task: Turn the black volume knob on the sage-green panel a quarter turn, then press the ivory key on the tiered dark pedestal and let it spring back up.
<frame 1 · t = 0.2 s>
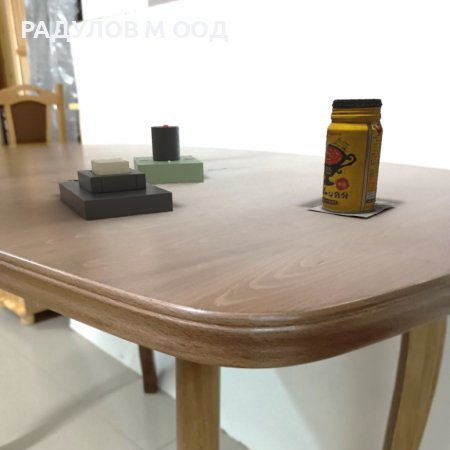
volume knob: (165, 142, 78), point 6 cm above the table, hinge at 0.0°
condiment: (351, 210, 58), on the table
white key: (110, 168, 58), point 4 cm above the table, slide at 0.1 cm
tiered dark pedestal: (113, 205, 60), on the table
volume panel: (167, 178, 80), on the table
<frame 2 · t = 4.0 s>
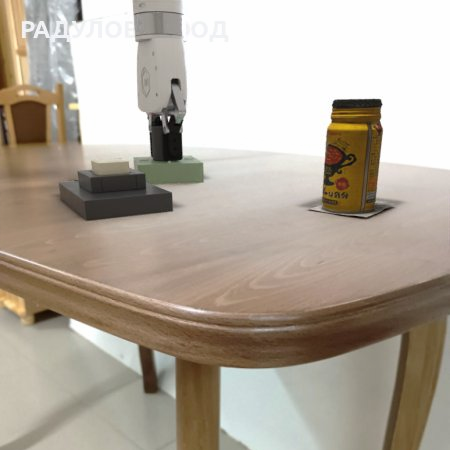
hand: (166, 157, 79), 3 cm above the table, tool pointing down, fingers closed on volume knob, 4 cm apart
volume knob: (165, 142, 78), point 6 cm above the table, hinge at 0.0°, touching gripper
everything else where it was.
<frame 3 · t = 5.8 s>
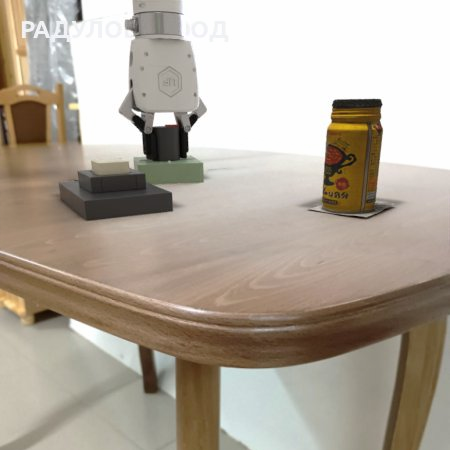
hand: (166, 157, 79), 3 cm above the table, tool pointing down, fingers closed on volume knob, 4 cm apart
volume knob: (165, 142, 78), point 6 cm above the table, hinge at 90.4°, touching gripper
everything else where it was.
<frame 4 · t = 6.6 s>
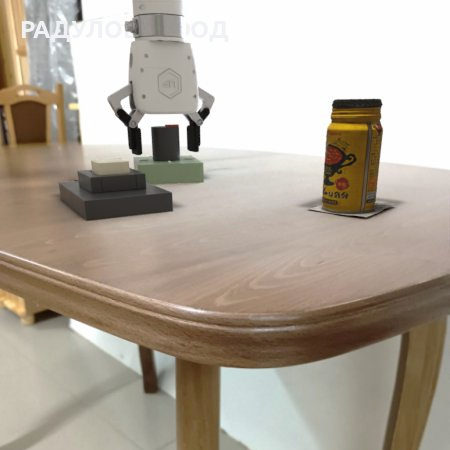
hand: (165, 152, 78), 4 cm above the table, tool pointing down, fingers open, 9 cm apart
volume knob: (165, 142, 78), point 6 cm above the table, hinge at 90.4°
everything else where it was.
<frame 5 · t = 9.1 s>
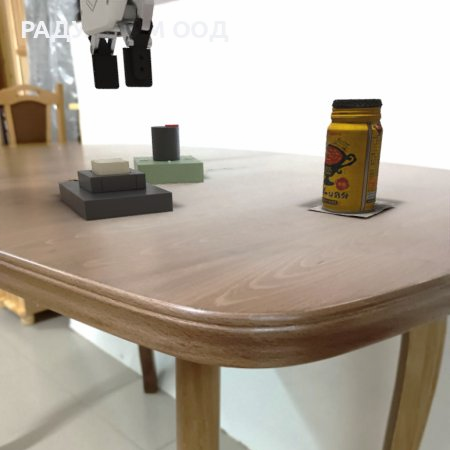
hand: (122, 88, 60), 13 cm above the table, tool pointing down, fingers open, 9 cm apart
nothing on the table moved.
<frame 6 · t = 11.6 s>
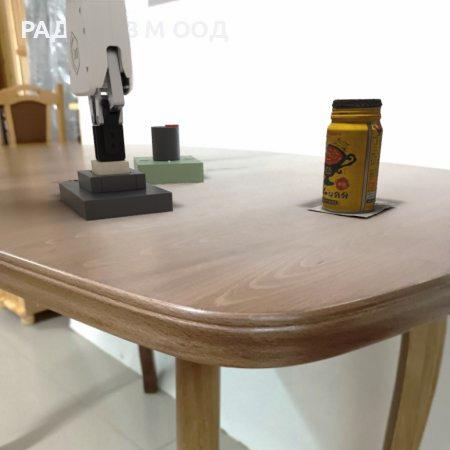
hand: (110, 160, 58), 5 cm above the table, tool pointing down, fingers closed
white key: (110, 168, 58), point 4 cm above the table, slide at 0.0 cm, touching gripper
everything else where it was.
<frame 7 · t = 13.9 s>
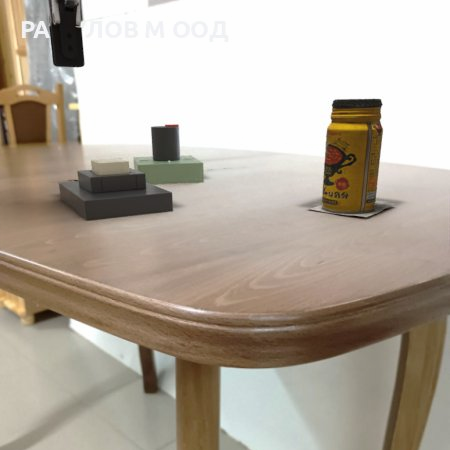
hand: (69, 66, 56), 16 cm above the table, tool pointing down, fingers closed
white key: (110, 168, 58), point 4 cm above the table, slide at 0.1 cm
everything else where it was.
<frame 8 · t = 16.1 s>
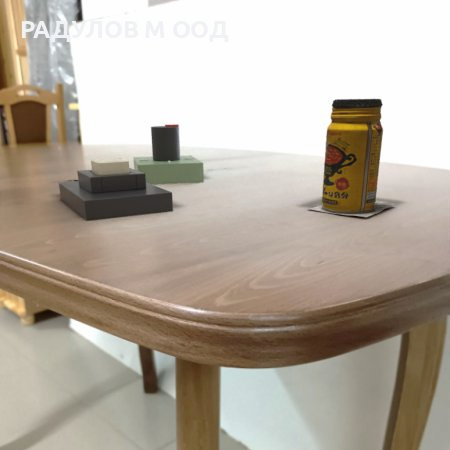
nothing on the table moved.
at the end: volume knob at +90° (first picture: +0°); white key pushed in 1.3 cm at the most during the clip, back to where it started at the end; white key slide at 0.1 cm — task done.
